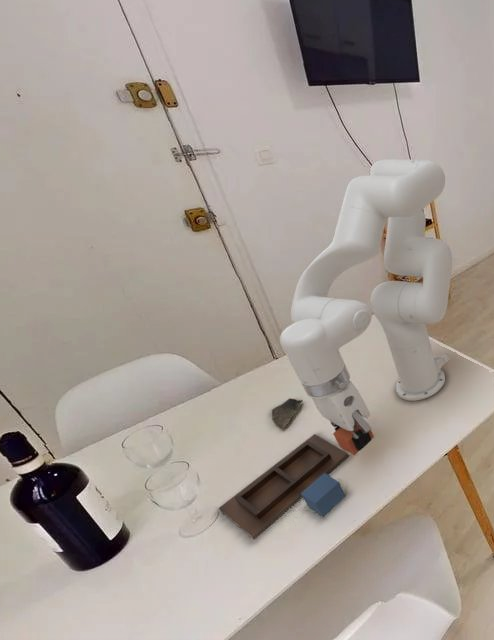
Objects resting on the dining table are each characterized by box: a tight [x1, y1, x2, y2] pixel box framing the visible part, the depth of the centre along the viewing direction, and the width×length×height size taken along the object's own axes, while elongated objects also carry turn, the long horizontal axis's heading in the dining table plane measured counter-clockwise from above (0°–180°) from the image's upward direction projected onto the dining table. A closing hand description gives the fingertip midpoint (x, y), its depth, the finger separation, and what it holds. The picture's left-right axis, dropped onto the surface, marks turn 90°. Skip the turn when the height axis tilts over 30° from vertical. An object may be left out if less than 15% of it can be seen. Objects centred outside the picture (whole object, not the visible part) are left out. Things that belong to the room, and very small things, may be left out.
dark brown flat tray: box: [218, 433, 350, 540], centre depth 86 cm, size 20×12×2 cm, turn 152°
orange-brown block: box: [332, 425, 375, 456], centre depth 86 cm, size 5×5×4 cm
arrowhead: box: [271, 397, 303, 429], centre depth 102 cm, size 7×10×1 cm
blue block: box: [301, 473, 346, 518], centre depth 81 cm, size 5×5×4 cm
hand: (356, 439), depth 87 cm, fingers closed on orange-brown block, 4 cm apart
